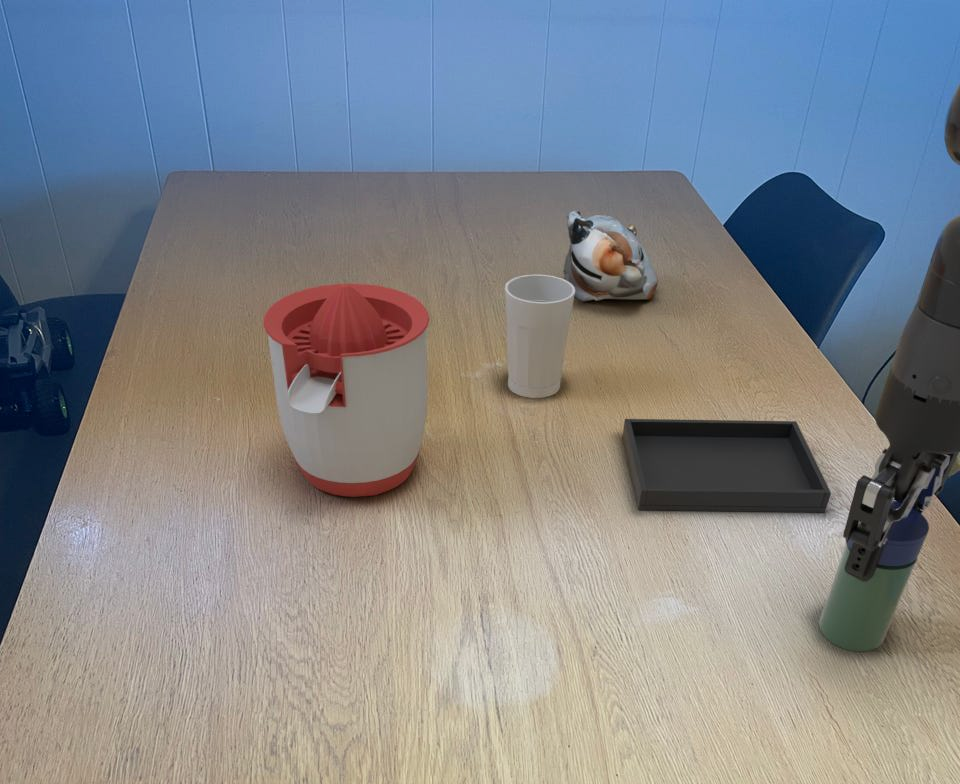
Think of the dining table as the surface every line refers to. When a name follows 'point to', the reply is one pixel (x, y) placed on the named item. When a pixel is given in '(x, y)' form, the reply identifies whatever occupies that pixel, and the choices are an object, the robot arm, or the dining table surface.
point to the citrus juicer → (351, 384)
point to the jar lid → (903, 539)
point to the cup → (537, 332)
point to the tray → (723, 466)
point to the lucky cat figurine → (607, 260)
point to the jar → (862, 605)
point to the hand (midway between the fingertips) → (876, 558)
